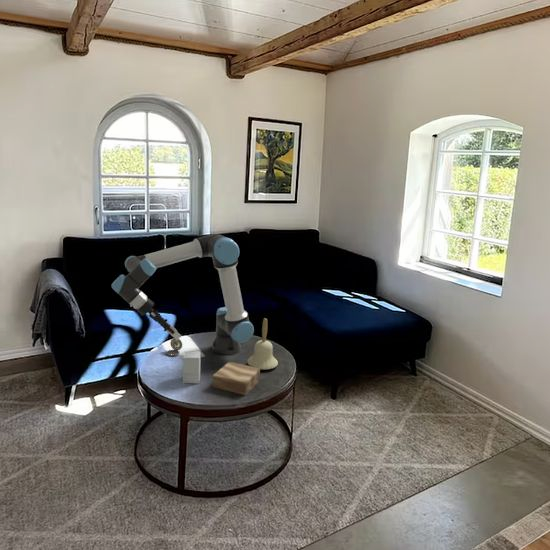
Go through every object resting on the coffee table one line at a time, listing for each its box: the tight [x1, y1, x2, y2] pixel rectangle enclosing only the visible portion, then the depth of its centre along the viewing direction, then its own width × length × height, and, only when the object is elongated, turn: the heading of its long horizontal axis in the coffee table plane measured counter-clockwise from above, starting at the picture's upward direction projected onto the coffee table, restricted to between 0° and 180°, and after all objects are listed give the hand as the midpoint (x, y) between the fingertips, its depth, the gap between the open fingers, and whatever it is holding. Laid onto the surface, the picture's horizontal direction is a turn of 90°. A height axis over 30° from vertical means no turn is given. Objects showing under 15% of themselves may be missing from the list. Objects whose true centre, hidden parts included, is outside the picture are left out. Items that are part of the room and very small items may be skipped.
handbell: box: [247, 317, 279, 370], centre depth 244 cm, size 15×15×25 cm
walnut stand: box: [212, 361, 261, 396], centre depth 225 cm, size 16×16×6 cm
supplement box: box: [182, 351, 202, 384], centre depth 225 cm, size 7×7×13 cm
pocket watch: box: [166, 337, 183, 357], centre depth 253 cm, size 8×8×10 cm
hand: (177, 335), depth 223 cm, fingers open, 13 cm apart
